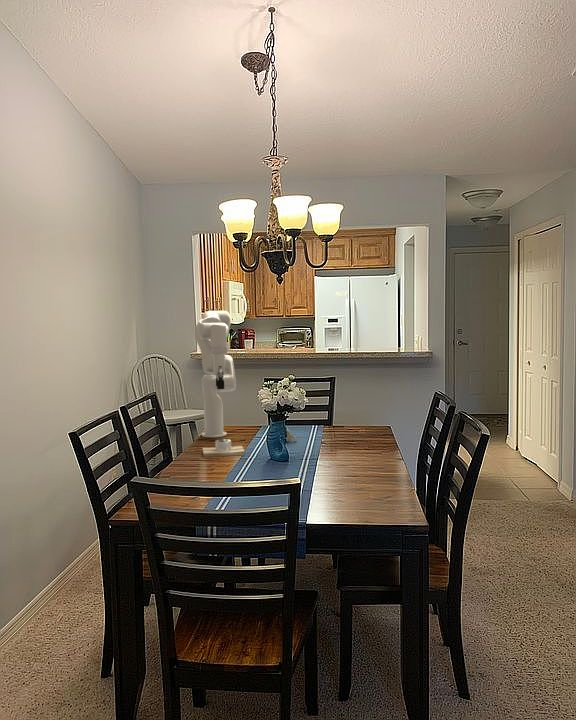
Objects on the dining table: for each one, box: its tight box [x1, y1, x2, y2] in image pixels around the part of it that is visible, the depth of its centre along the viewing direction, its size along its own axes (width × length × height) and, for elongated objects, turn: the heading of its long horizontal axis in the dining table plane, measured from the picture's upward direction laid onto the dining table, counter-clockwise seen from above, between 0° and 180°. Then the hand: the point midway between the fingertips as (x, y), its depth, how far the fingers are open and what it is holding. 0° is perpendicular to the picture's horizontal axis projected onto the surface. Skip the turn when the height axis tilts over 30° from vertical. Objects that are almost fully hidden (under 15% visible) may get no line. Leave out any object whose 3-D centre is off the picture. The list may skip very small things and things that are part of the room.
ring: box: [214, 438, 232, 452], centre depth 293 cm, size 7×7×4 cm
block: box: [202, 445, 246, 458], centre depth 293 cm, size 12×18×2 cm, turn 99°
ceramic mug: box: [286, 427, 297, 443], centre depth 314 cm, size 11×8×8 cm
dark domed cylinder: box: [218, 438, 227, 442], centre depth 293 cm, size 3×3×4 cm
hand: (220, 387), depth 302 cm, fingers open, 9 cm apart
